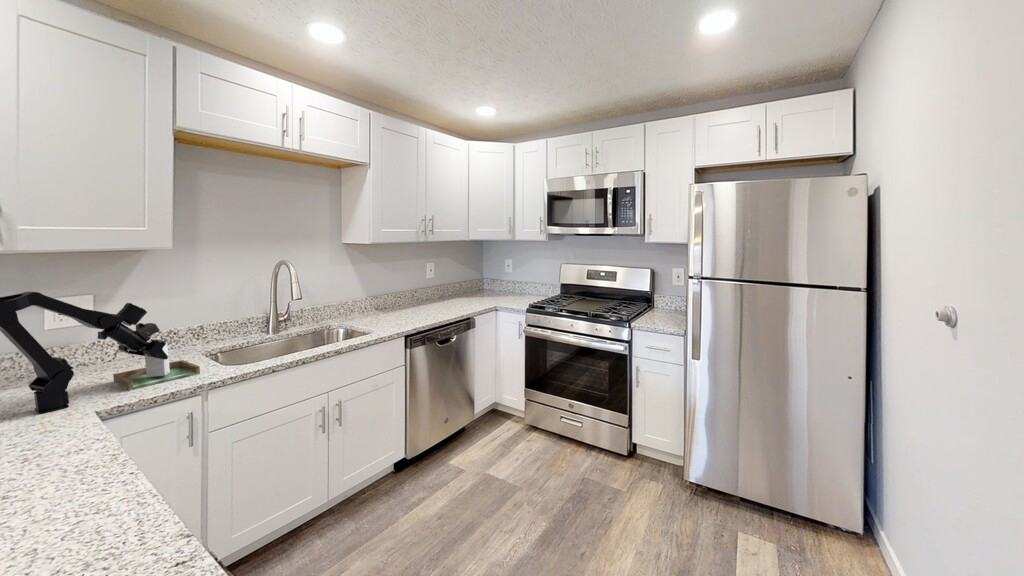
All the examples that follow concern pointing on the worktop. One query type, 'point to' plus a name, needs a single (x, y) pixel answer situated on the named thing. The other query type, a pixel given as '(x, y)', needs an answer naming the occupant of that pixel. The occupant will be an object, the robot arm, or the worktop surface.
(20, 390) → the worktop surface
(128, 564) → the worktop surface
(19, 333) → the robot arm
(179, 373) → the box
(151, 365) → the skincare box
